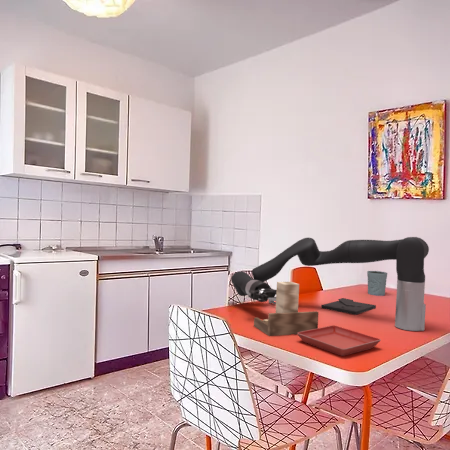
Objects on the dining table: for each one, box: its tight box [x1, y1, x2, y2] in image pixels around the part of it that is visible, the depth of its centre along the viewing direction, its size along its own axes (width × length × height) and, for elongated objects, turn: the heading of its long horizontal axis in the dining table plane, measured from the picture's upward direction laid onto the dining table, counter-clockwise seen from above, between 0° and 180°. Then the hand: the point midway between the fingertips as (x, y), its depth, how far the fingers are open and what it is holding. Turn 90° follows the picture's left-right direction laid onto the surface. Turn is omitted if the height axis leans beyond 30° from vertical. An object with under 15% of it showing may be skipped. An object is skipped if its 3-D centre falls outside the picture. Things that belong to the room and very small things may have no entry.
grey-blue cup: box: [366, 270, 388, 297], centre depth 219 cm, size 10×10×12 cm
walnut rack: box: [253, 310, 319, 337], centre depth 139 cm, size 18×12×7 cm, turn 110°
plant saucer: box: [296, 325, 381, 357], centre depth 124 cm, size 18×18×3 cm
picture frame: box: [320, 297, 377, 316], centre depth 179 cm, size 16×3×21 cm
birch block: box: [275, 281, 300, 313], centre depth 139 cm, size 6×6×16 cm
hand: (277, 298), depth 145 cm, fingers open, 8 cm apart
